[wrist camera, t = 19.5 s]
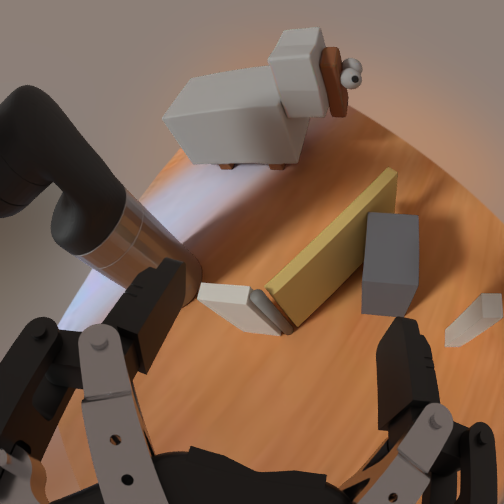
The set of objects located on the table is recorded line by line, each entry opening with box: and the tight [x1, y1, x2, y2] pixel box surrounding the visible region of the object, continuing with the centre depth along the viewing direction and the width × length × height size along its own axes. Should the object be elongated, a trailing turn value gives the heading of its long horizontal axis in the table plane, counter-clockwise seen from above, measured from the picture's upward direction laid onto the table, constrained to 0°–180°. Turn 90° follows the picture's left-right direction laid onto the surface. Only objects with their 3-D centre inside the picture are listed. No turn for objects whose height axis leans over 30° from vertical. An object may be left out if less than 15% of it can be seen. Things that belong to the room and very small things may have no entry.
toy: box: [162, 27, 362, 170], centre depth 40 cm, size 11×28×20 cm, turn 72°
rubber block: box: [361, 212, 419, 317], centre depth 30 cm, size 5×7×10 cm
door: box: [264, 167, 398, 327], centre depth 32 cm, size 17×3×11 cm, turn 129°
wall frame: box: [197, 283, 503, 347], centre depth 27 cm, size 26×2×12 cm, turn 78°
